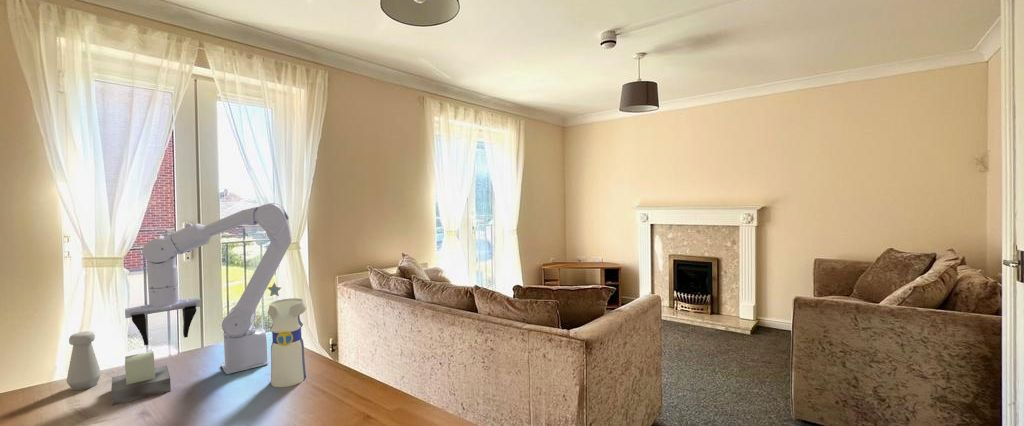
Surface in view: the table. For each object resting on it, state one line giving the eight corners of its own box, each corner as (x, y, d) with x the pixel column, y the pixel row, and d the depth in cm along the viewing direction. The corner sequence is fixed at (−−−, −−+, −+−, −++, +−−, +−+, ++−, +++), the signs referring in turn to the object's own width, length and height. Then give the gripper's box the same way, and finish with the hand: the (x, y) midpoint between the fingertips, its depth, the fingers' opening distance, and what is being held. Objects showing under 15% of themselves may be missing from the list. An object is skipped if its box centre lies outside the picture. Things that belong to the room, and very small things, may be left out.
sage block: (154, 371, 103) (153, 351, 103) (155, 378, 99) (154, 357, 99) (126, 377, 100) (125, 356, 100) (126, 384, 96) (124, 362, 96)
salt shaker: (79, 393, 99) (76, 337, 98) (60, 391, 100) (57, 336, 99) (108, 382, 104) (105, 329, 104) (89, 380, 105) (86, 328, 105)
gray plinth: (167, 377, 107) (166, 365, 107) (170, 390, 100) (170, 378, 99) (112, 389, 100) (112, 377, 100) (112, 405, 93) (111, 391, 93)
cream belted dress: (306, 384, 102) (303, 280, 101) (266, 390, 99) (262, 283, 98) (310, 370, 110) (307, 274, 109) (273, 375, 107) (269, 277, 106)
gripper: (124, 294, 98) (127, 352, 99) (201, 284, 108) (204, 337, 109) (123, 289, 103) (126, 344, 104) (197, 279, 113) (200, 330, 114)
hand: (166, 340), depth 107 cm, fingers open, 7 cm apart
